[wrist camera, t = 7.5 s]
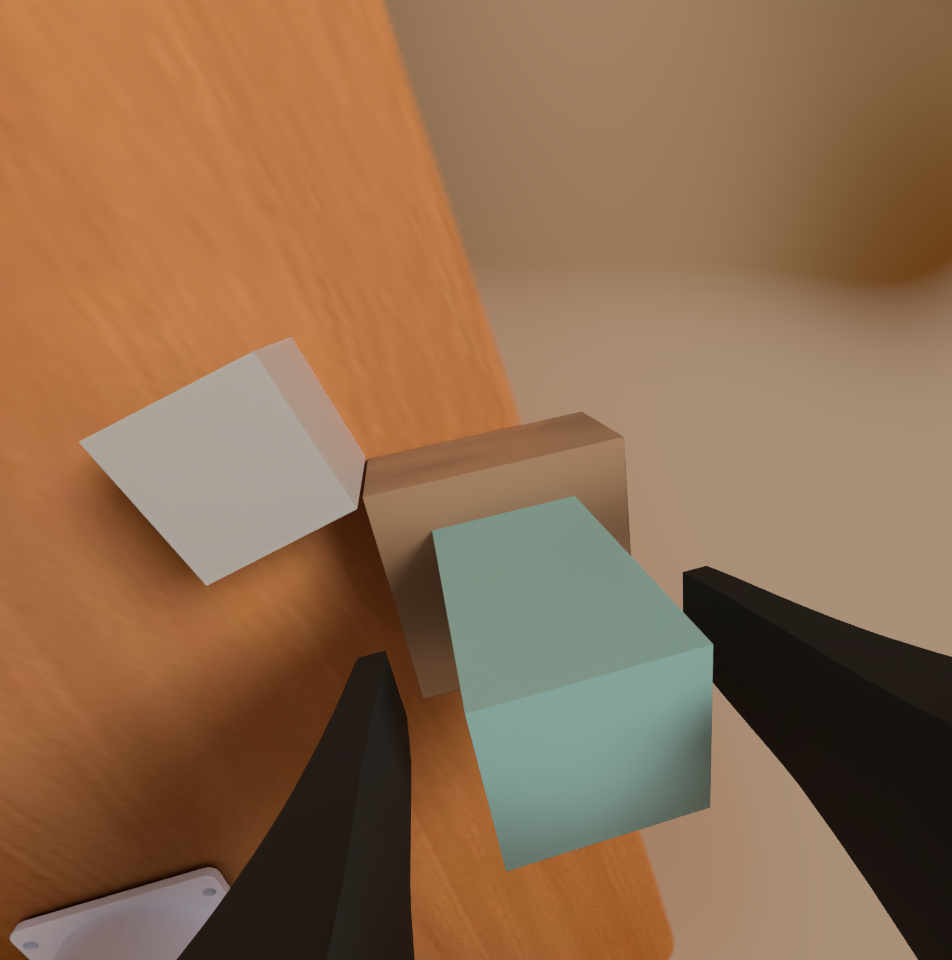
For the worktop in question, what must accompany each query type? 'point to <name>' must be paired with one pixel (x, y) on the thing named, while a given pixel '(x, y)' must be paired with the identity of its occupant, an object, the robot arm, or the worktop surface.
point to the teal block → (573, 681)
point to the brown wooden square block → (481, 511)
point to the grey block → (236, 461)
